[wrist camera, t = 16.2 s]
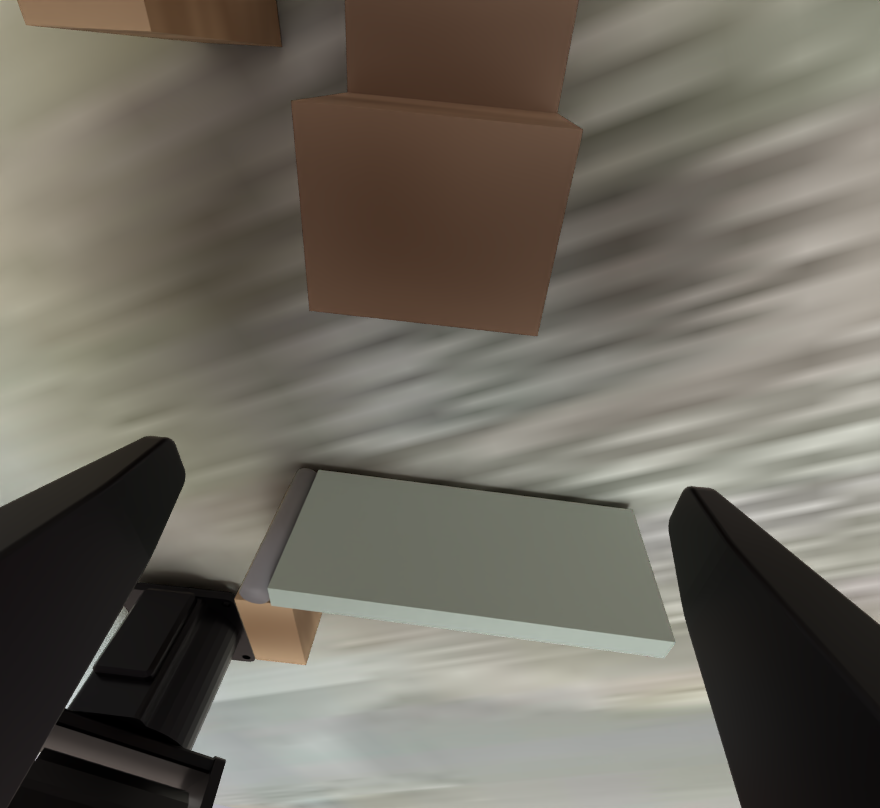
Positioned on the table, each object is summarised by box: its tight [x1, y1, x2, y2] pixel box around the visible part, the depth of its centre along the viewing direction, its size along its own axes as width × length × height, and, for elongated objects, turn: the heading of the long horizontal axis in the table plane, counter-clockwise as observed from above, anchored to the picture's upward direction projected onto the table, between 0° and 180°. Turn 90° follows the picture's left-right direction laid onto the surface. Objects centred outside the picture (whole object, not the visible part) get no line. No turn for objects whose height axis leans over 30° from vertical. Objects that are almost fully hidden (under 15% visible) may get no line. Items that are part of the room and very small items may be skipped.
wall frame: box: [17, 0, 322, 665], centre depth 15 cm, size 22×2×6 cm, turn 178°
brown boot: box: [291, 0, 583, 336], centre depth 9 cm, size 8×4×6 cm, turn 175°
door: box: [239, 468, 676, 658], centre depth 17 cm, size 14×1×6 cm, turn 85°
